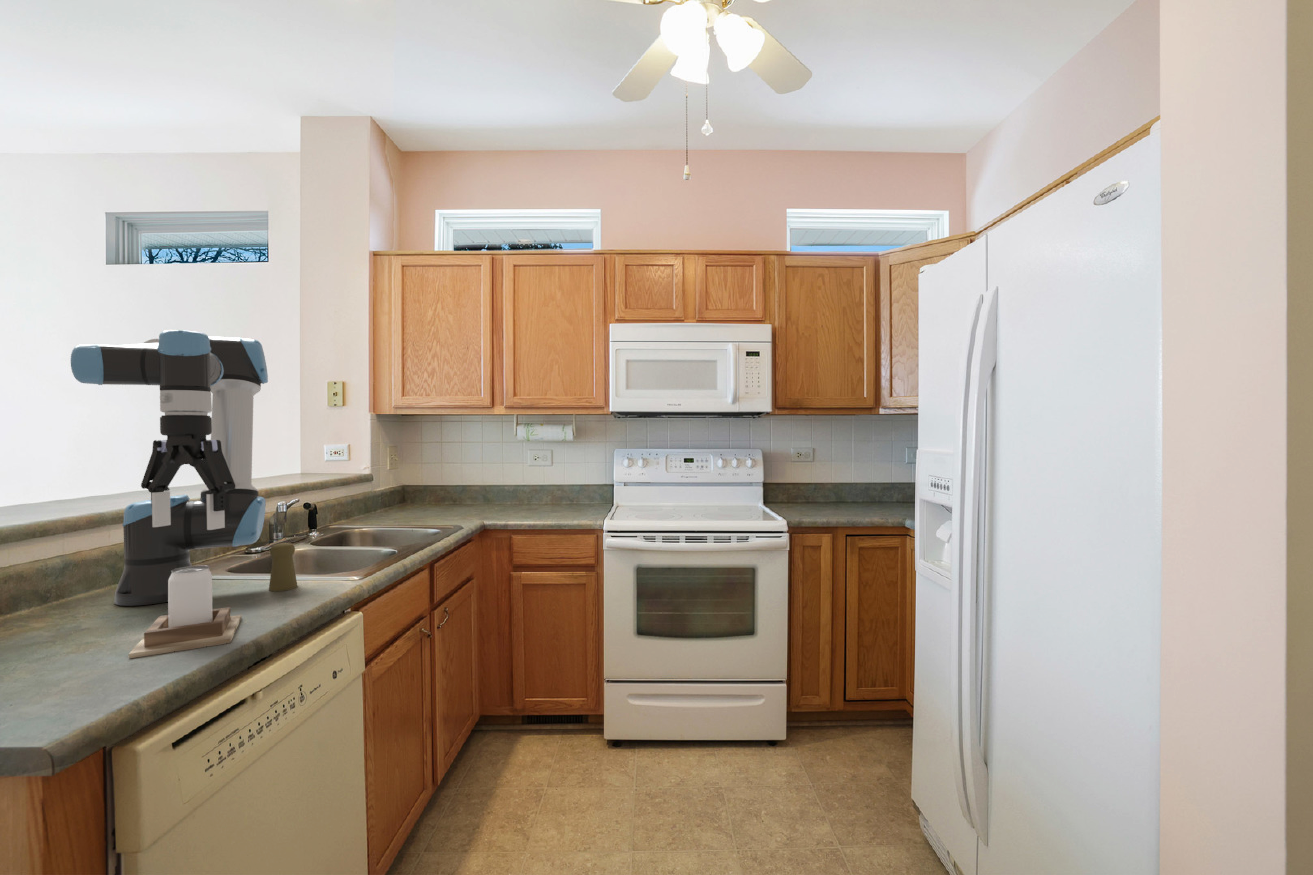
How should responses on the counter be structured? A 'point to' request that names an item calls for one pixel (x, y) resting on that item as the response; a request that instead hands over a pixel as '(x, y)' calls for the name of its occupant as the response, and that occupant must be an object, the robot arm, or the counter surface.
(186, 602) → the can
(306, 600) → the counter surface
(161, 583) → the robot arm
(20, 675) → the counter surface
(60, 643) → the counter surface
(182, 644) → the keeper board
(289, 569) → the cork
